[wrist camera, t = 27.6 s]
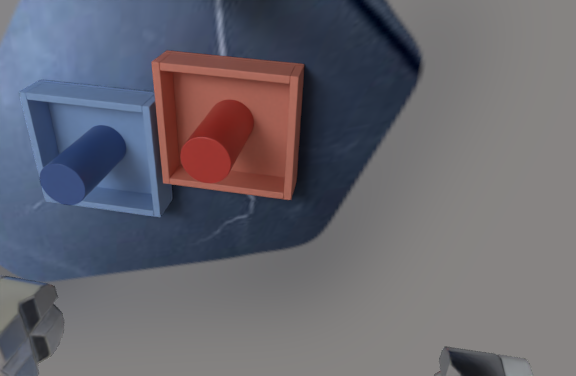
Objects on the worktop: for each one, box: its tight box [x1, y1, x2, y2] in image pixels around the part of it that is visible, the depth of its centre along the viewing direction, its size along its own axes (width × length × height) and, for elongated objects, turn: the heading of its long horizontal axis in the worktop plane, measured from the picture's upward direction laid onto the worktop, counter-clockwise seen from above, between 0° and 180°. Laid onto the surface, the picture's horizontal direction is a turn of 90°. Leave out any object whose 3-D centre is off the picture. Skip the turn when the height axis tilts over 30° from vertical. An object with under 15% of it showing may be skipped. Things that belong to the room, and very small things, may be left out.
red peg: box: [180, 100, 254, 184], centre depth 37 cm, size 4×4×7 cm
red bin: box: [152, 50, 304, 200], centre depth 39 cm, size 11×10×3 cm
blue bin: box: [19, 80, 173, 217], centre depth 42 cm, size 11×10×3 cm
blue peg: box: [40, 125, 126, 205], centre depth 40 cm, size 4×4×7 cm
